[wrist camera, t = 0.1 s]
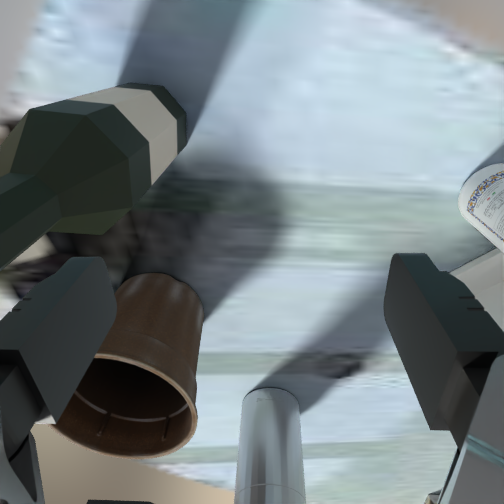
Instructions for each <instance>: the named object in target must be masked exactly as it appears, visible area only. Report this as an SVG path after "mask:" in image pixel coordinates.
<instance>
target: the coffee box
mask: <svg viewBox="0 0 504 504" xmlns="http://www.w3.org/2000/svg"><path fill="white" fill-rule="evenodd" d="M439 496H440V495H433V494H430V495H428V497H427V499H426V501H425V503H424V504H437V502H438V499H439Z"/></svg>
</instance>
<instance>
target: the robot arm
mask: <svg viewBox="0 0 504 504" xmlns="http://www.w3.org/2000/svg"><path fill="white" fill-rule="evenodd" d="M116 313H117V303H116V298H115V295H114V291H113V288H112V284H111V281H110V278H109V274H108V271H107V267H106V264H105V262H104V260H103V259H102V258H101V257H72V258H70V259H69V260H68V261H67V262H66V263H65V264H64V265H63V266H62V267H61V268H60V269H59V270H58V271H57V272H56V273H55V274H54V275H51V276H50V277H48V278H47V279H45V280H43V281H42V282H40V283H38V284H37V285H35V286H34V287H33V288H32V289H31V290H30V291H29V292H28V293H27V294H26V295H25V296H24V297H23V300H22V301H19V302H18V303H17V304H16V305H15V306H14V307H13V308H12V312H8V313H7V315H6V316H5V317H4V318H3V319H2V320H1V321H0V504H45V501H44V494H43V488H42V481H41V475H40V469H39V463H38V457H37V450H36V443H35V439H34V437H33V435H32V433H31V432H30V430H31V428H32V427H33V425H34V424H35V423H37V424H56V423H57V421H58V420H59V418H60V416H61V414H62V413H63V411H64V409H65V407H66V406H67V404H68V402H69V400H70V399H71V397H72V395H73V393H74V392H75V390H76V388H77V386H78V385H79V383H80V381H81V379H82V378H83V376H84V374H85V372H86V371H87V369H88V367H89V365H90V364H91V362H92V360H93V358H94V357H95V355H96V353H97V351H98V350H99V348H100V346H101V344H102V343H103V341H104V339H105V337H106V335H107V334H108V332H109V330H110V328H111V327H112V325H113V323H114V321H115V318H116ZM384 316H385V320H386V323H387V326H388V328H389V331H390V333H391V336H392V338H393V340H394V343H395V345H396V348H397V350H398V353H399V355H400V357H401V360H402V362H403V365H404V367H405V370H406V372H407V374H408V377H409V379H410V382H411V384H412V387H413V389H414V391H415V394H416V396H417V399H418V401H419V404H420V406H421V408H422V411H423V413H424V416H425V418H426V421H427V423H428V425H429V428H430V430H450V432H451V434H452V436H453V438H454V440H455V442H456V444H457V449H456V451H455V454H454V457H453V459H452V462H451V465H450V468H449V471H448V474H447V476H446V479H445V482H444V485H443V488H442V491H441V493H440V496H439V499H438V502H437V504H504V332H503V330H502V329H501V328H500V327H499V325H498V324H497V323H496V322H495V321H494V319H493V318H492V317H491V316H490V314H489V313H488V312H487V311H484V307H483V306H482V304H481V303H480V302H479V301H478V299H475V296H474V295H473V293H472V292H471V291H470V290H469V288H468V287H467V286H466V285H465V283H463V282H462V281H460V280H459V279H457V278H456V277H454V276H453V275H451V274H450V273H448V272H447V271H439V270H438V269H437V268H436V266H435V265H434V264H433V262H432V261H431V260H430V258H429V257H428V256H427V254H425V253H396V254H394V255H393V257H392V260H391V264H390V270H389V275H388V281H387V286H386V292H385V297H384ZM87 504H153V503H151V502H144V501H143V502H142V501H113V500H88V502H87ZM234 504H306V496H305V482H304V468H303V455H302V441H301V426H300V412H299V404H298V401H297V399H296V398H295V397H294V396H293V395H292V394H290V393H289V392H287V391H284V390H282V389H277V388H262V389H258V390H255V391H253V392H251V393H249V394H248V395H247V396H246V397H245V398H244V400H243V403H242V413H241V425H240V436H239V448H238V460H237V473H236V485H235V499H234Z"/></svg>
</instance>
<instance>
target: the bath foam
mask: <svg viewBox="0 0 504 504" xmlns="http://www.w3.org/2000/svg"><path fill="white" fill-rule="evenodd" d="M458 207H459V210H460V212H461V214H462V216H463V217H464V218H465V219H466V220H467V221H468V222H469V223H470V224H472V225H473V226H474V228H475V229H477V230H478V231H479V232H480V233H481V234H482V235H483V236H484V237H485V238H487V239H488V240H489V241H490V242H491V243H492V244H493V245H494V246H495V247H497V248H498V249H499V250H500V251H501V252H502V253H503V254H504V163H498V164H493V165H490V166H487V167H485V168H483V169H481V170H479V171H477V172H476V173H474V174H473V175H472V176H471V177H470V178H469V179H468V180H467V181H466V182H465V184H464V185H463V187H462V189H461V191H460V194H459V198H458Z"/></svg>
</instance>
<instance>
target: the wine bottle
mask: <svg viewBox="0 0 504 504" xmlns="http://www.w3.org/2000/svg"><path fill="white" fill-rule="evenodd" d="M185 146H186V112H185V111H184V110H183V108H182V107H181V106H180V105H179V104H178V103H177V102H176V100H175V99H174V98H173V97H172V96H171V95H170V93H169V92H168V91H167V90H166V89H165V88H164V87H163V86H158V85H148V84H139V83H127V84H123V85H120V86H116V87H112V88H108V89H104V90H101V91H97V92H93V93H89V94H85V95H82V96H78V97H74V98H70V99H66V100H63V101H59V102H55V103H51V104H47V105H44V106H40V107H36V108H32V109H29V110H28V112H27V113H26V114H25V115H24V117H23V118H22V119H21V120H20V122H19V123H18V124H17V125H16V127H15V128H14V129H13V130H12V132H11V133H10V134H9V135H8V137H7V138H6V139H5V140H4V142H3V143H2V144H1V145H0V271H1V270H2V269H4V268H5V267H6V266H7V265H8V264H10V263H11V262H12V261H13V260H14V259H16V258H17V257H18V256H19V255H20V254H22V253H23V252H24V251H25V250H26V249H28V248H29V247H30V246H31V245H32V244H34V243H35V242H36V241H37V240H38V239H40V238H41V237H42V236H43V235H44V234H46V233H47V232H48V231H50V232H66V233H81V234H97V235H103V234H104V233H105V232H106V231H107V230H108V229H109V228H111V227H112V226H113V225H114V224H115V223H116V222H117V221H118V220H119V219H121V218H122V217H123V216H124V215H125V214H126V213H127V212H128V211H129V210H131V209H132V208H133V207H134V205H135V204H136V203H137V202H138V201H139V200H140V198H141V197H142V196H143V195H144V194H145V193H146V191H147V190H148V189H149V188H150V187H151V186H152V184H153V183H154V182H155V181H156V180H157V179H158V177H159V176H160V175H161V174H162V173H163V172H164V171H165V169H166V168H167V167H168V166H169V165H170V164H171V162H172V161H173V160H174V159H175V158H176V157H177V155H178V154H179V153H180V152H181V151H182V150H183V148H184V147H185Z"/></svg>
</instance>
